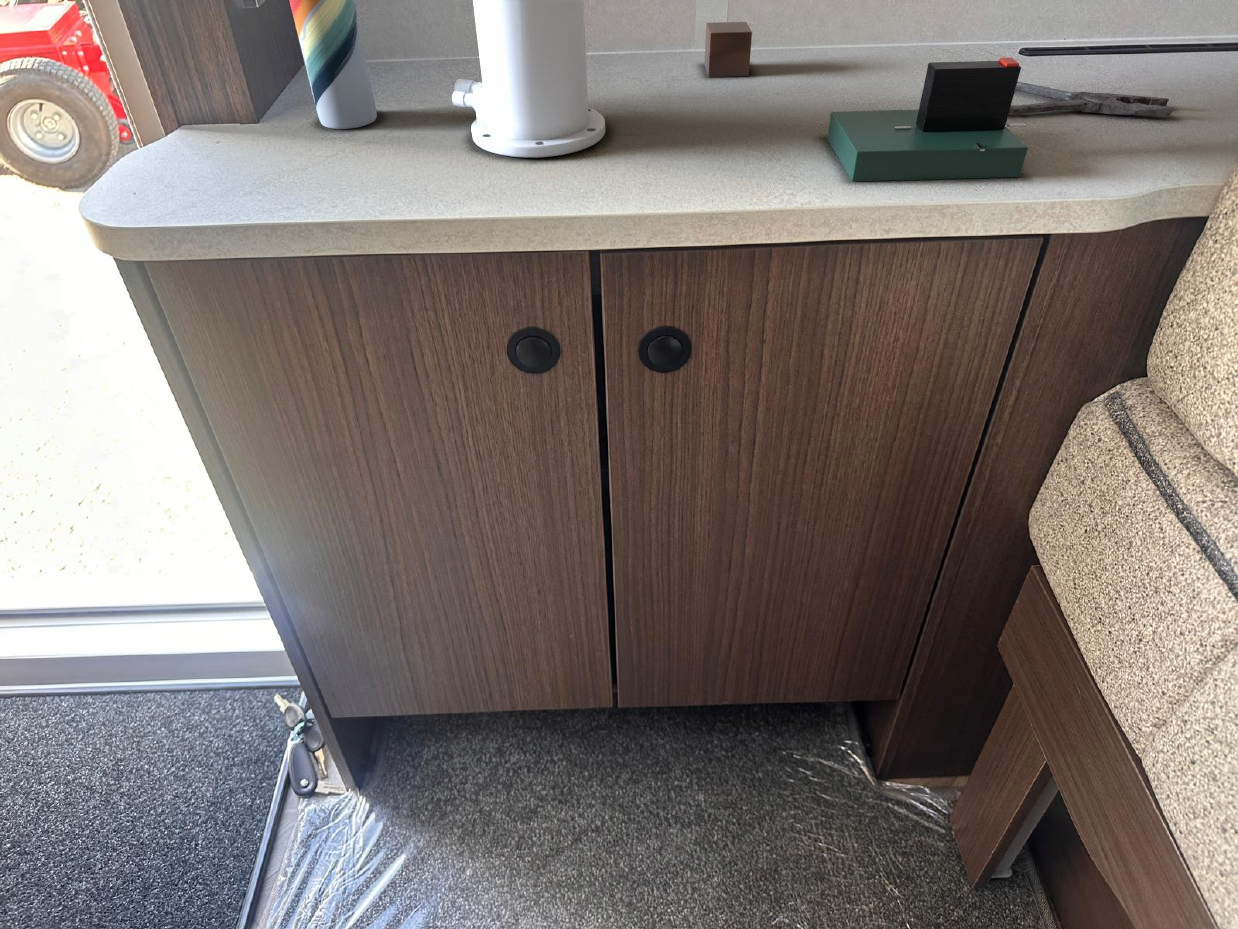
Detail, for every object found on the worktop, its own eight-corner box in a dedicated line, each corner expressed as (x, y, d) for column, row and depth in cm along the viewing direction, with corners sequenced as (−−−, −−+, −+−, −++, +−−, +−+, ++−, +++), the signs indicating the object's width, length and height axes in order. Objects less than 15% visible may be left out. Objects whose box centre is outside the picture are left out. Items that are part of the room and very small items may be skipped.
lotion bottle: (316, 116, 85) (256, -124, 72) (372, 107, 86) (324, -128, 74) (324, 133, 81) (263, -117, 68) (383, 124, 82) (334, -122, 70)
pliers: (943, 75, 88) (1143, 77, 86) (941, 84, 89) (1140, 86, 86) (960, 105, 81) (1180, 108, 79) (958, 114, 81) (1176, 117, 79)
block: (708, 77, 92) (710, 32, 89) (704, 65, 96) (706, 22, 93) (748, 76, 92) (752, 31, 89) (743, 64, 96) (746, 21, 93)
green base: (853, 184, 69) (859, 152, 67) (825, 137, 78) (829, 107, 76) (1041, 179, 69) (1051, 147, 67) (993, 132, 78) (1001, 102, 76)
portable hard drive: (922, 131, 71) (936, 65, 68) (915, 123, 72) (928, 58, 69) (1004, 129, 71) (1022, 63, 68) (996, 121, 72) (1013, 56, 69)
